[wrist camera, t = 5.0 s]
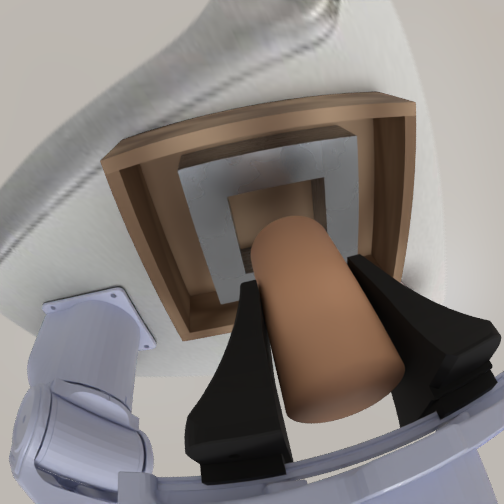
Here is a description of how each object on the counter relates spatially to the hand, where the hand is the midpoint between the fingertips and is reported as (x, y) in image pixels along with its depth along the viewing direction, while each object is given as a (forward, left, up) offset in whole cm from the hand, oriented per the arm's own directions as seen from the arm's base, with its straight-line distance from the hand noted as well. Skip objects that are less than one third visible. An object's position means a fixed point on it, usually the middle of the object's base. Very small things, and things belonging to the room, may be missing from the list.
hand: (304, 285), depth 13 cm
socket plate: (0, -1, -9) cm, 9 cm away
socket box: (0, -1, -9) cm, 9 cm away
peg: (0, 0, -2) cm, 2 cm away
